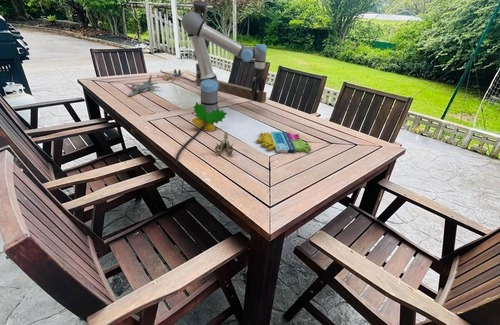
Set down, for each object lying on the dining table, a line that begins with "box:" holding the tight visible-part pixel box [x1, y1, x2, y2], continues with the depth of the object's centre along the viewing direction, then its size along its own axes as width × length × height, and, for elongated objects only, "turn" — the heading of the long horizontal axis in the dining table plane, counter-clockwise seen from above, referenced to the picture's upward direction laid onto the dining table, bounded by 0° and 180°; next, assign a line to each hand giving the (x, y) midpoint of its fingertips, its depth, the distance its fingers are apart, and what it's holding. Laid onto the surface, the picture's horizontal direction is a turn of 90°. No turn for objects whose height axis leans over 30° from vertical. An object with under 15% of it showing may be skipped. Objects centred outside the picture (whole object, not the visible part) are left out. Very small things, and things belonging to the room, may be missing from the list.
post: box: [196, 77, 267, 104], centre depth 211 cm, size 71×5×7 cm, turn 51°
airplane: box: [127, 74, 159, 97], centre depth 228 cm, size 38×32×10 cm
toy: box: [155, 68, 182, 81], centre depth 281 cm, size 28×7×30 cm
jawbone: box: [214, 131, 234, 156], centre depth 136 cm, size 9×15×10 cm
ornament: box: [191, 102, 228, 132], centre depth 162 cm, size 21×8×15 cm, turn 105°
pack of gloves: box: [256, 131, 312, 154], centre depth 152 cm, size 26×2×30 cm
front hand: (257, 100), depth 197 cm, fingers closed on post, 5 cm apart
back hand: (203, 82), depth 227 cm, fingers closed on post, 5 cm apart
